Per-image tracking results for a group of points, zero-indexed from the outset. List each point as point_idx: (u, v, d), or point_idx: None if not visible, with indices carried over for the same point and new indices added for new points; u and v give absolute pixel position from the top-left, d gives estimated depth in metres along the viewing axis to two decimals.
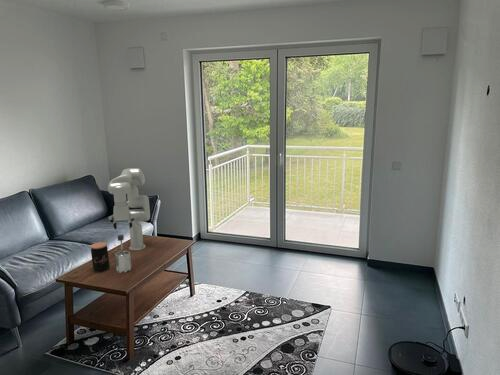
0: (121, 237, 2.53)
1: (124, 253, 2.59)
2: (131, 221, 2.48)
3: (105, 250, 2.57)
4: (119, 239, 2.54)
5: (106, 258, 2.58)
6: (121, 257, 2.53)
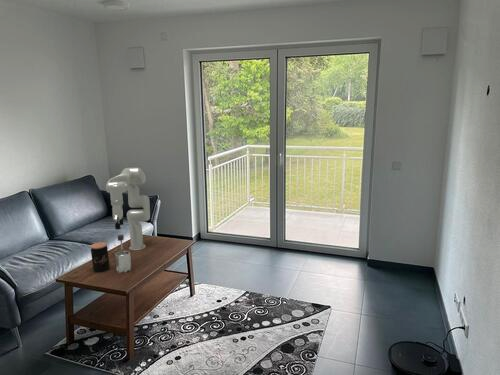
0: (121, 237, 2.53)
1: (124, 253, 2.59)
2: (122, 217, 2.58)
3: (105, 250, 2.57)
4: (119, 239, 2.54)
5: (106, 258, 2.58)
6: (121, 257, 2.53)
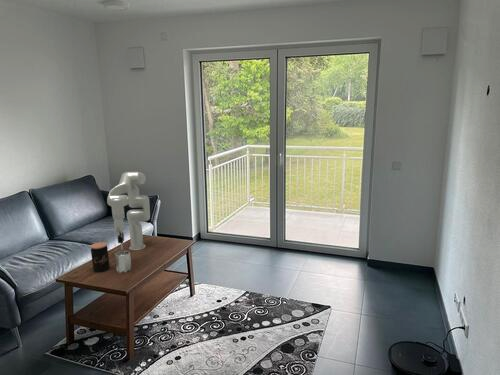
0: None
1: (124, 253, 2.59)
2: (123, 233, 2.58)
3: (105, 250, 2.57)
4: None
5: (106, 258, 2.58)
6: (121, 257, 2.53)
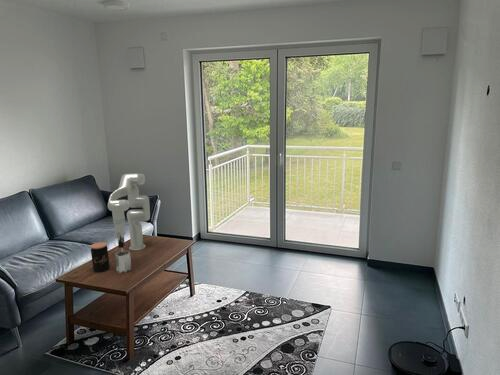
0: None
1: None
2: None
3: (105, 250, 2.57)
4: None
5: (106, 258, 2.58)
6: (121, 257, 2.53)
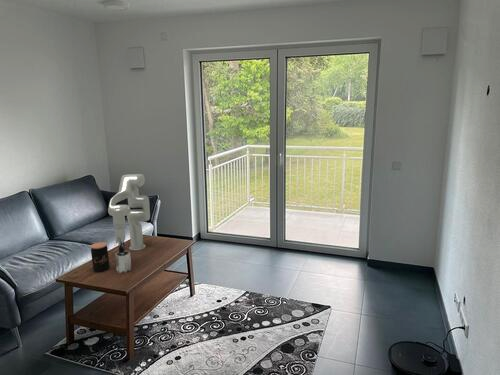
0: None
1: None
2: (124, 243, 2.59)
3: (105, 250, 2.57)
4: None
5: (106, 258, 2.58)
6: (121, 257, 2.53)
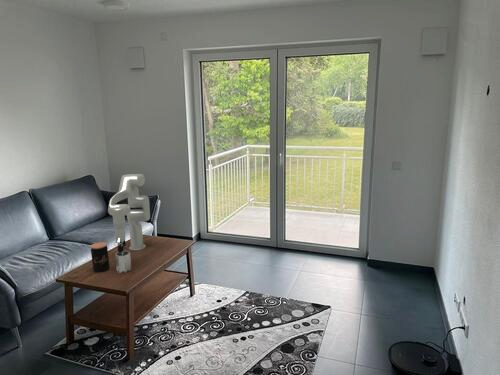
0: None
1: None
2: None
3: (105, 250, 2.57)
4: None
5: (106, 258, 2.58)
6: (121, 257, 2.53)
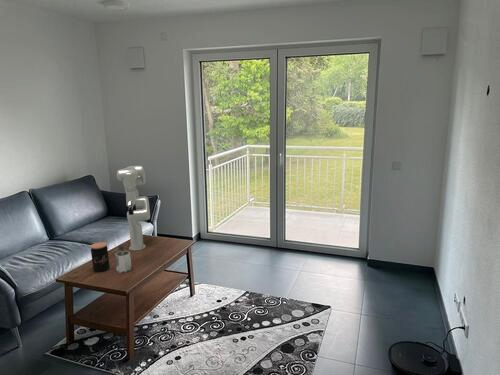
0: (122, 247, 2.55)
1: None
2: (135, 203, 2.71)
3: (105, 250, 2.57)
4: (120, 249, 2.55)
5: (106, 258, 2.58)
6: (121, 257, 2.53)
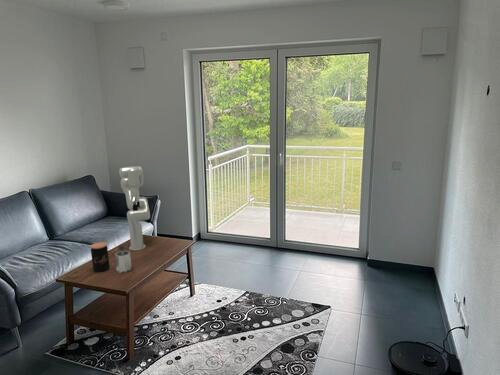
0: (122, 247, 2.55)
1: None
2: (139, 200, 2.75)
3: (105, 250, 2.57)
4: (120, 249, 2.55)
5: (106, 258, 2.58)
6: (121, 257, 2.53)
